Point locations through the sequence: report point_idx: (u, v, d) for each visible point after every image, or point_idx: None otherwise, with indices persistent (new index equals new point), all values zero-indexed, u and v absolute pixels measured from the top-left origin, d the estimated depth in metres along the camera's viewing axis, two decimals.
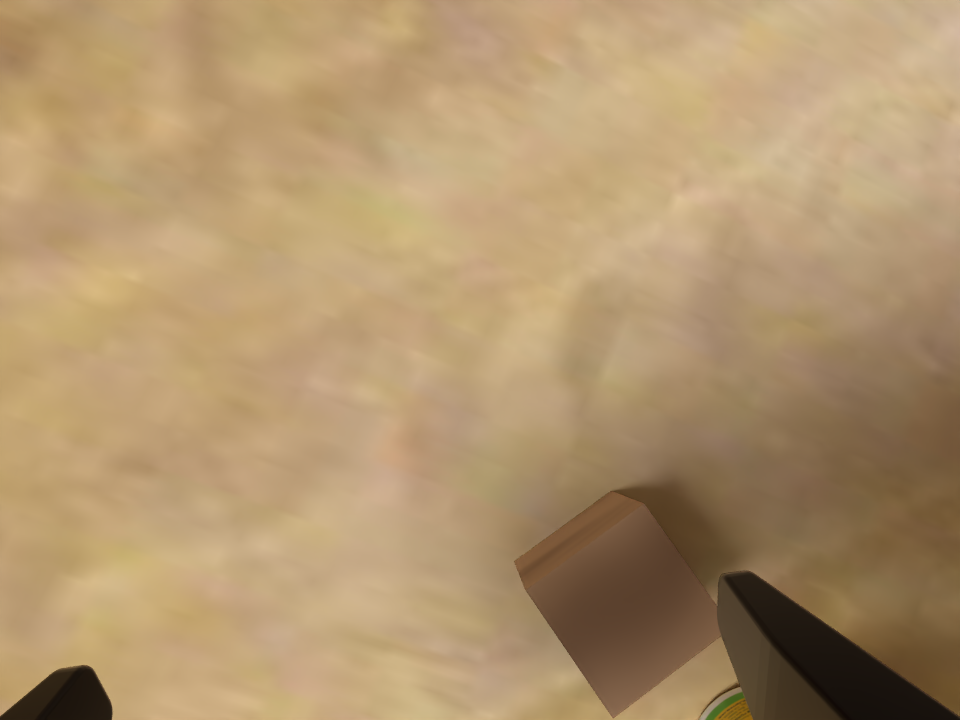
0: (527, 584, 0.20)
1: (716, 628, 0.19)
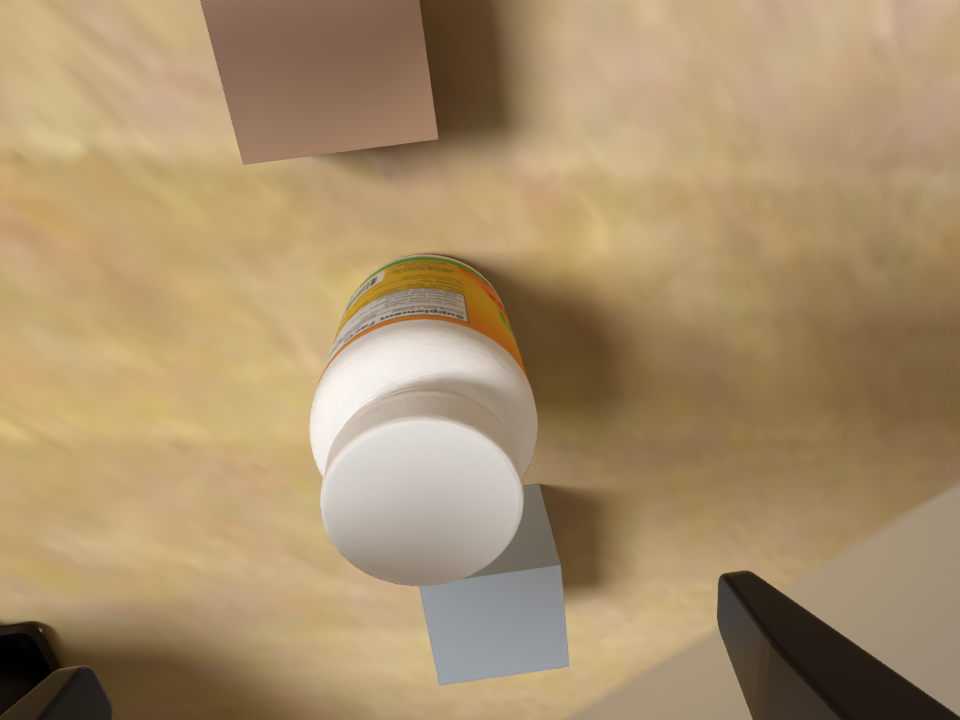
0: None
1: (419, 130, 0.14)
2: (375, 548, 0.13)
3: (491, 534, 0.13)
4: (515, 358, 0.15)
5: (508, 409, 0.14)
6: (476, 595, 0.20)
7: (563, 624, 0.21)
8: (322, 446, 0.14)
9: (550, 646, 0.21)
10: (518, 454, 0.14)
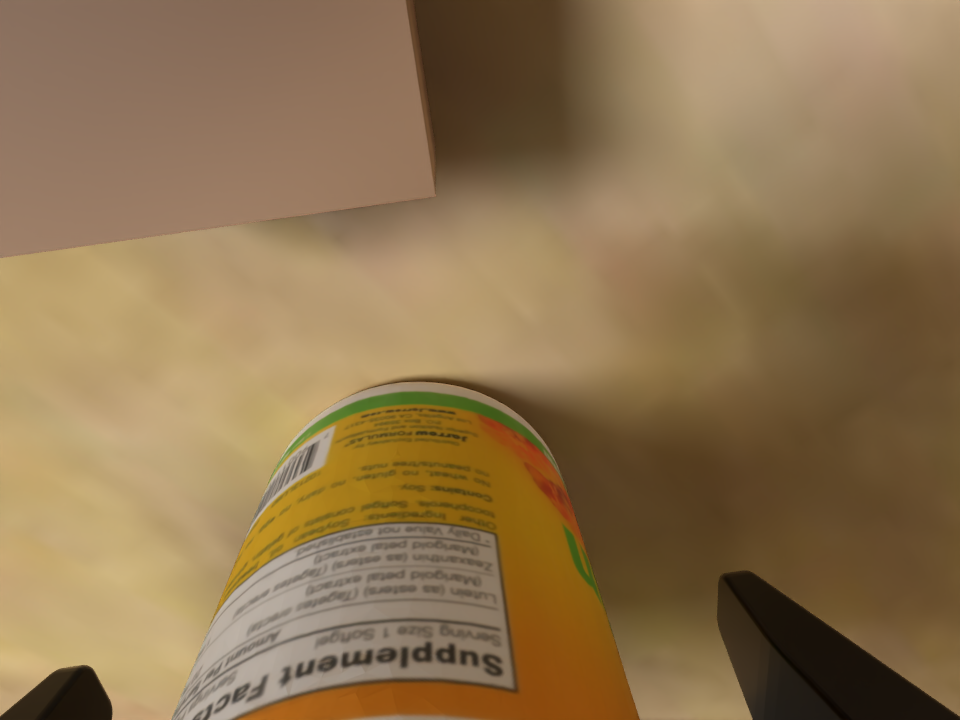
0: None
1: (381, 173, 0.05)
2: None
3: None
4: None
5: None
6: None
7: None
8: None
9: None
10: None
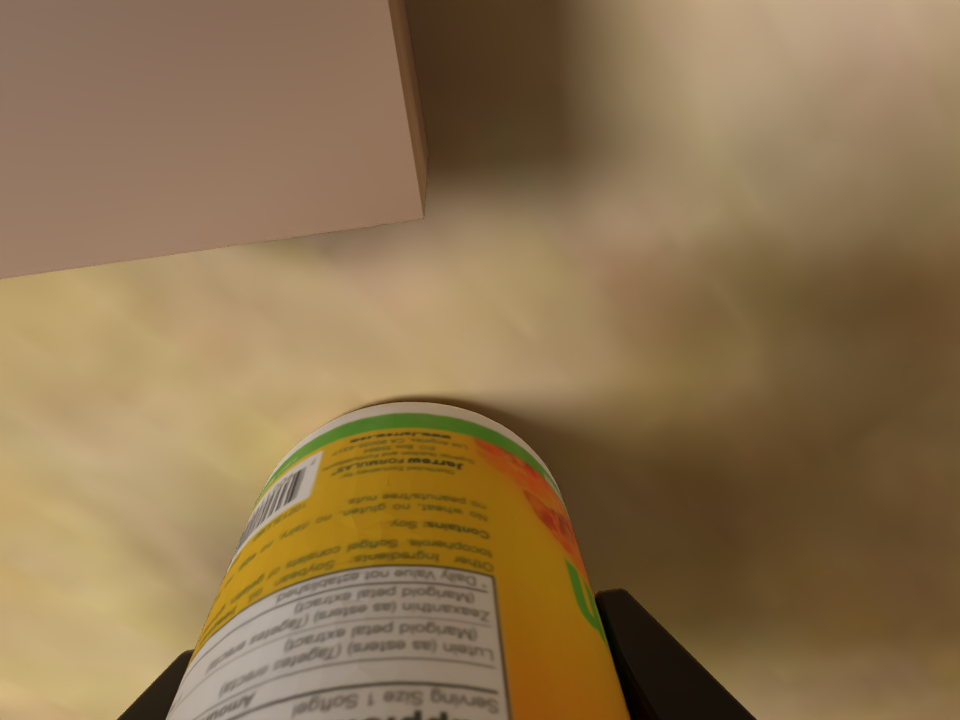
0: None
1: (363, 193, 0.05)
2: None
3: None
4: None
5: None
6: None
7: None
8: None
9: None
10: None
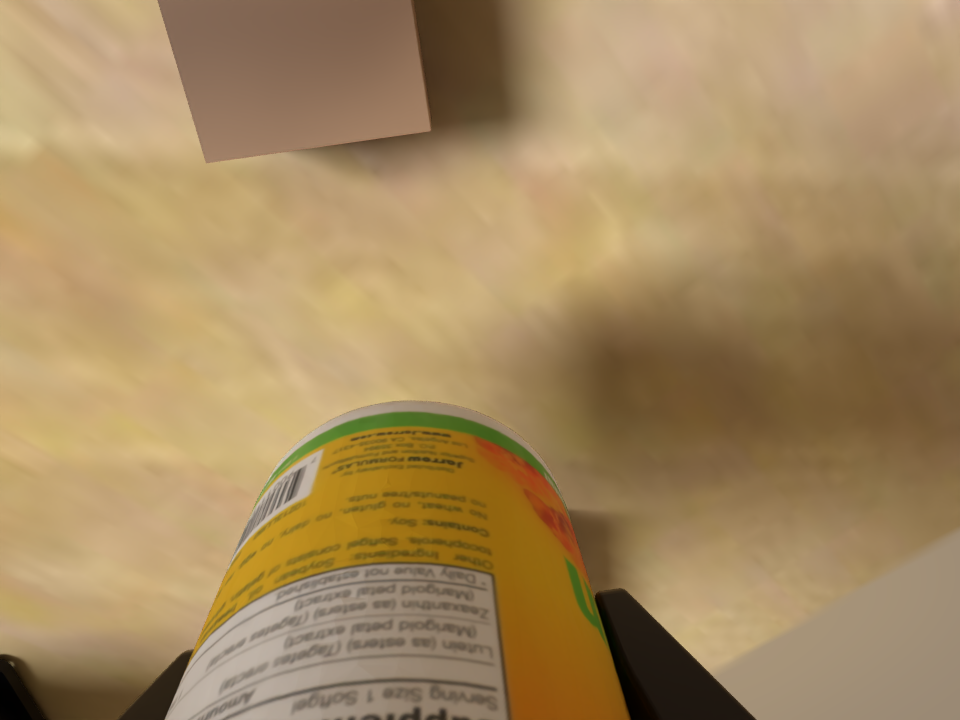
0: None
1: (408, 120, 0.12)
2: None
3: None
4: None
5: None
6: None
7: None
8: None
9: None
10: None
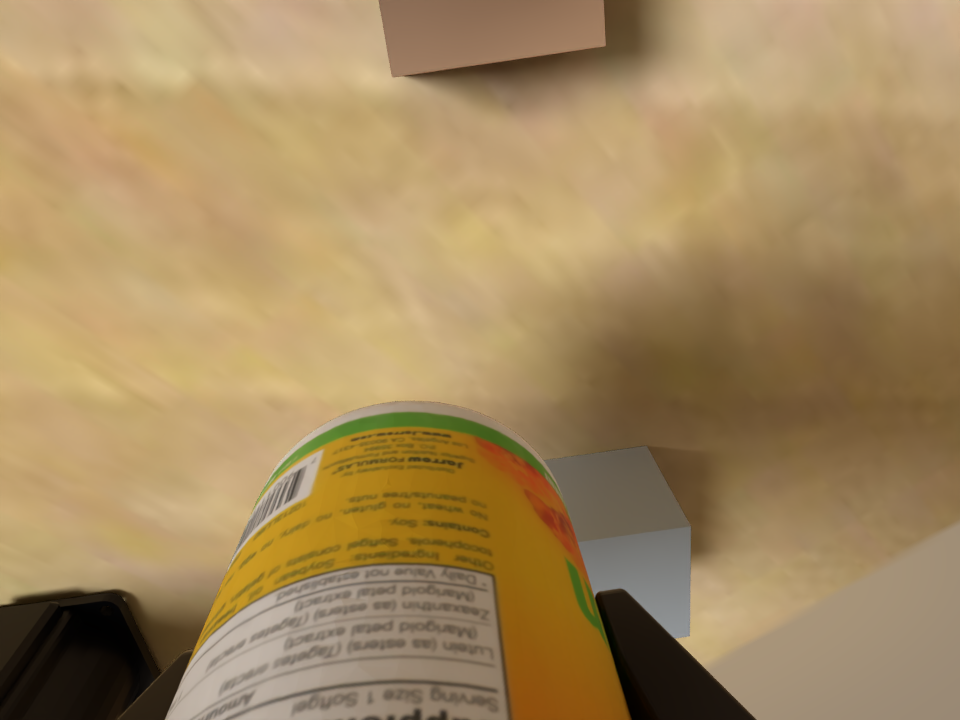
0: None
1: (585, 35, 0.13)
2: None
3: None
4: None
5: None
6: (599, 559, 0.19)
7: (687, 590, 0.20)
8: None
9: (671, 614, 0.20)
10: None
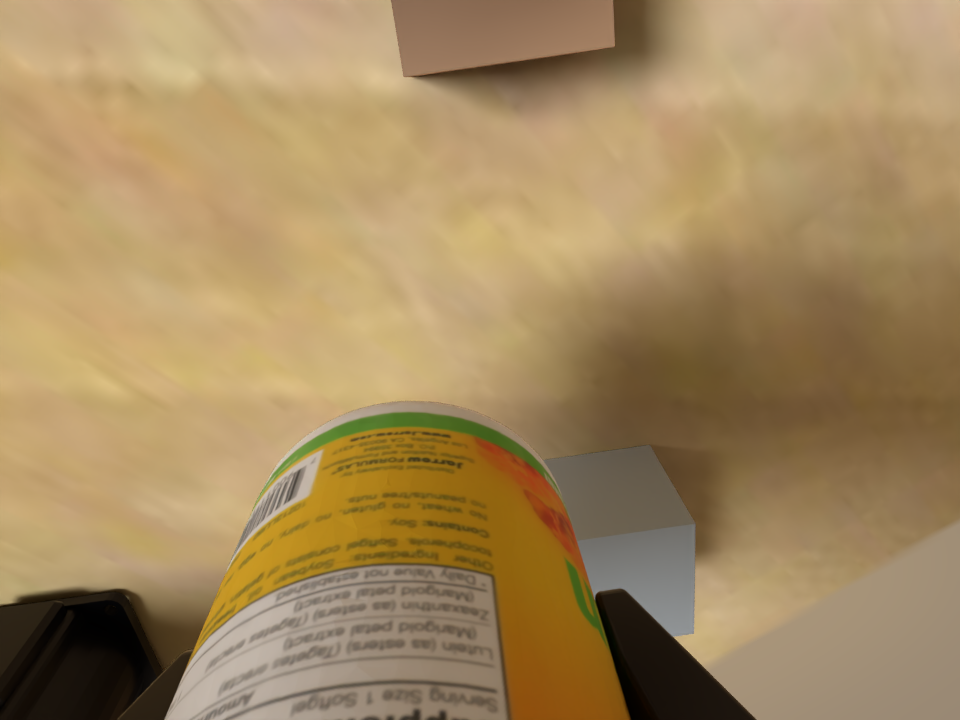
0: None
1: (595, 36, 0.13)
2: None
3: None
4: None
5: None
6: (604, 556, 0.19)
7: (692, 588, 0.20)
8: None
9: (675, 611, 0.20)
10: None
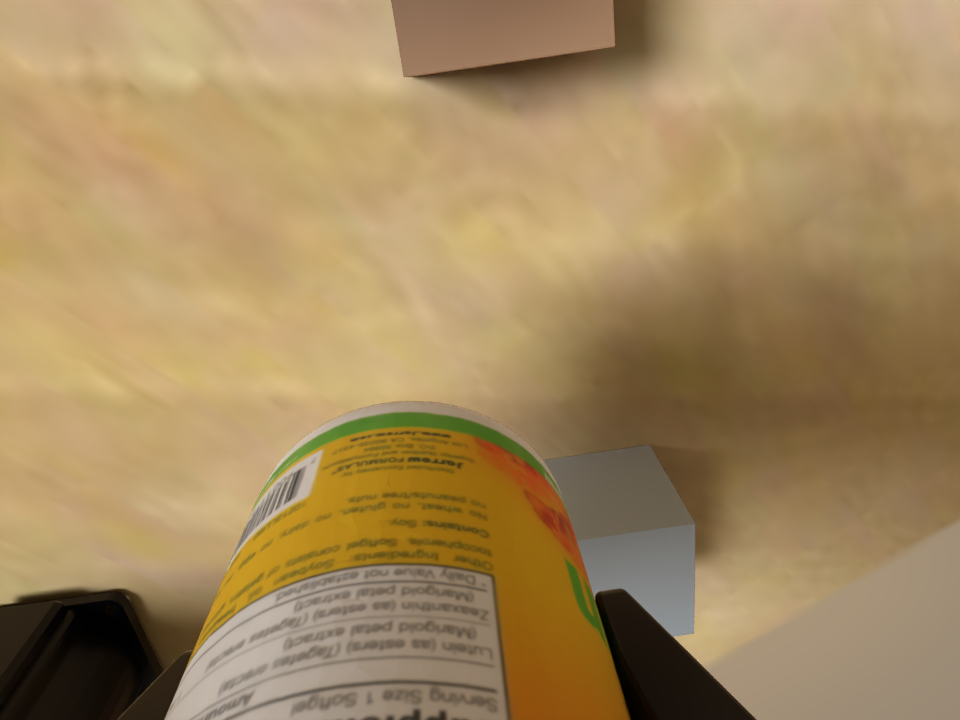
0: None
1: (595, 36, 0.13)
2: None
3: None
4: None
5: None
6: (604, 556, 0.19)
7: (692, 588, 0.20)
8: None
9: (675, 611, 0.20)
10: None
